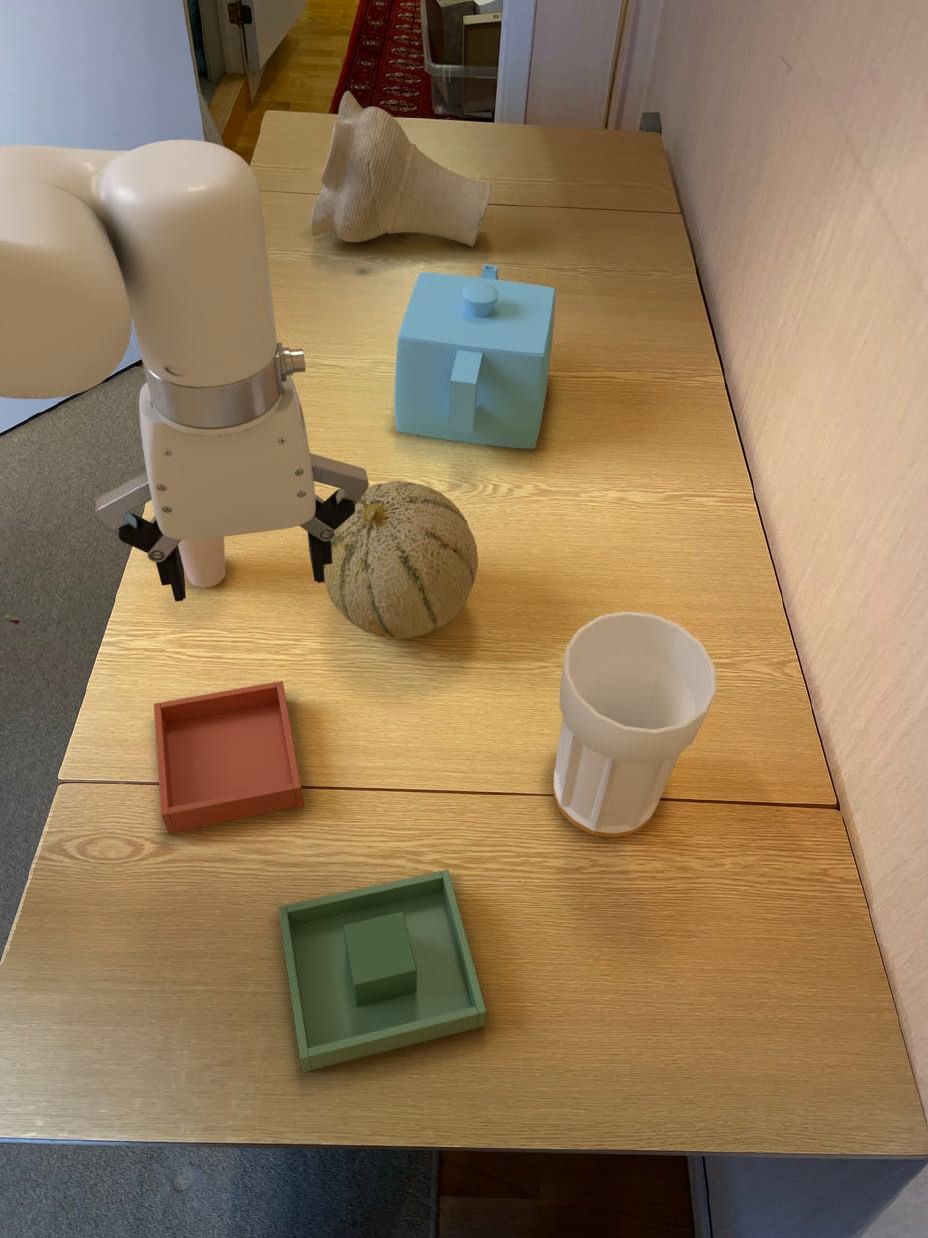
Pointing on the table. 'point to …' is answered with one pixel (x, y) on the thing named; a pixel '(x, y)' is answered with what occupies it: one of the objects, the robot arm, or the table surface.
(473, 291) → the container
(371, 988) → the green block
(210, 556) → the smoothie
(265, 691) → the terracotta tray
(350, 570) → the cantaloupe
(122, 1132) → the table surface
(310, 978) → the green tray
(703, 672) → the cup
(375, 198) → the vase
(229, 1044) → the table surface
